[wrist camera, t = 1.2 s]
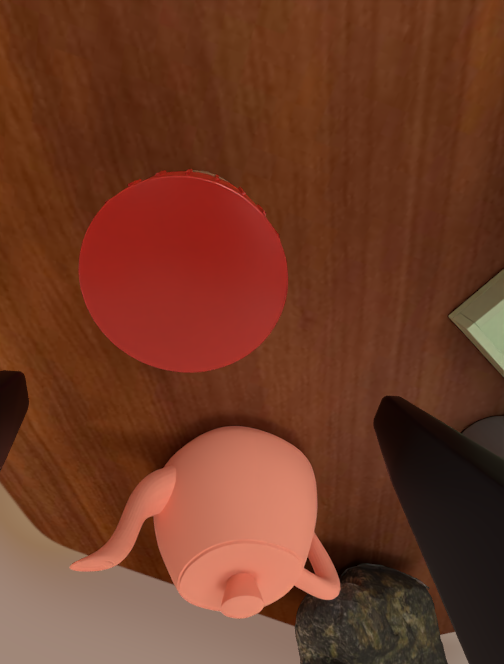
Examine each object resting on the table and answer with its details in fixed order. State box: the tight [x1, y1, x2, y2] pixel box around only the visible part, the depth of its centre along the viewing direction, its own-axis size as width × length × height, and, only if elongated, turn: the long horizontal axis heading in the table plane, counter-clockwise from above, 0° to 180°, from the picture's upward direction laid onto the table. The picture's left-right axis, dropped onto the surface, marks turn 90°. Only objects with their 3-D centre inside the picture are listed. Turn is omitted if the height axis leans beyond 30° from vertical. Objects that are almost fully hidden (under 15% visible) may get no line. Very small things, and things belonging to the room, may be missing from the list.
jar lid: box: [78, 169, 288, 373], centre depth 12 cm, size 7×7×2 cm
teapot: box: [70, 426, 341, 619], centre depth 24 cm, size 12×18×10 cm
